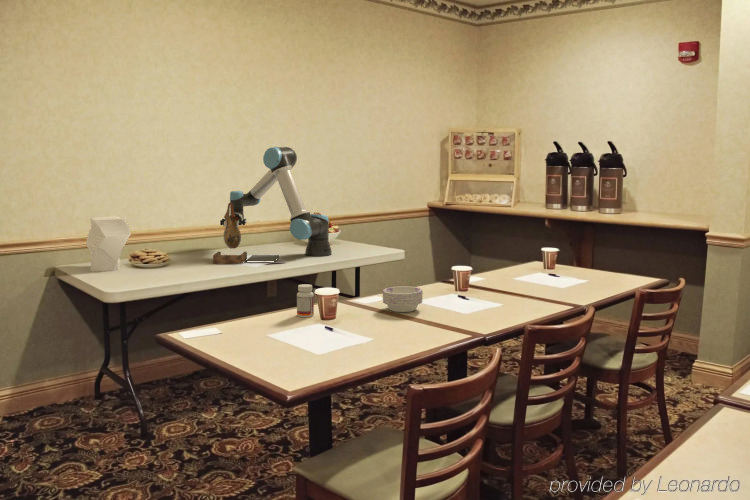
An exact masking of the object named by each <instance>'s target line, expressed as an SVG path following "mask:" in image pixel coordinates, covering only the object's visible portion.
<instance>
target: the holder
mask: <svg viewBox="0 0 750 500" xmlns="http://www.w3.org/2000/svg"><path fill="white" fill-rule="evenodd" d="M221 253H222V252H221V251H217V252H216V253H214V254H213V255H212V263H213V264H214V265H215V264H216V265H239V264H238V263H243V262H244V261H245V260H246V259H248V252H247V251H243V252H242V253H241V254H221ZM246 261H247V260H246ZM246 261H245V262H246ZM245 262H244V263H245ZM244 263H243V264H244Z"/></svg>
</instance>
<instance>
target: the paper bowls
mask: <svg viewBox="0 0 750 500" xmlns="http://www.w3.org/2000/svg"><path fill="white" fill-rule="evenodd" d="M423 295H424V294H423V289H422V288H420V287H416V286H407V285H406V286H404V285H401V286H400V285H399V286H390V287H386V288H384V289H382V303H383V304H384V305H387V307H388V310H389V311H392V312H396V313H411V312H414V311H416V310H417V308H418V306H419V305H420V304H422V303H423Z"/></svg>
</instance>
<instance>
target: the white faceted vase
mask: <svg viewBox="0 0 750 500" xmlns="http://www.w3.org/2000/svg"><path fill="white" fill-rule="evenodd" d="M89 221H90V224H91V225H90V229H89V231H88V234H87V239H86V242H85V243H86V244H85V245H86V247H87V249H88V252H89V257H90V268H89V269H90V272H99V271H101V272H113V271H112V270H114V271H119V270H120V267H121V266H120V264H121V259H120V258H121V255H122V251H123V248H125V246H126V243H127V242H128V241H129V238H130V236H131V235H132V233H131V229H130V226H129V224H128V223H127V221H125V219H123V218H121V217H119V216H117V215H110V216H109V215H108V216H96V217H91V218H89ZM118 269H119V270H118Z"/></svg>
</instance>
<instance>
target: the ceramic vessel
mask: <svg viewBox="0 0 750 500" xmlns="http://www.w3.org/2000/svg"><path fill="white" fill-rule="evenodd" d="M230 206H231V212H232V222H231V218H230ZM223 219H225V220H226V221H227V226H226V227H224V230H223V241H224V243H225V245H226V247H228V248H229V249H237V248H238V247H239V246H240V245H241V241H242V233H241V230H240V228H239V226H238V227H237V221H238V218H237V217H235V214H234V210H233V205H232V203H230V202H228V203H227V210H226V212H225V214H224V216H223Z"/></svg>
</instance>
